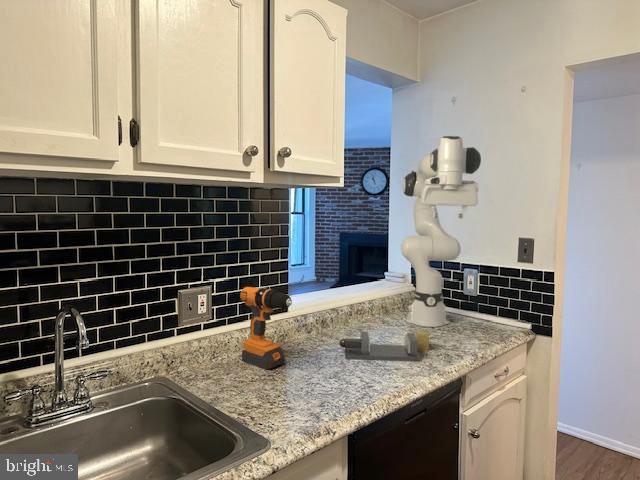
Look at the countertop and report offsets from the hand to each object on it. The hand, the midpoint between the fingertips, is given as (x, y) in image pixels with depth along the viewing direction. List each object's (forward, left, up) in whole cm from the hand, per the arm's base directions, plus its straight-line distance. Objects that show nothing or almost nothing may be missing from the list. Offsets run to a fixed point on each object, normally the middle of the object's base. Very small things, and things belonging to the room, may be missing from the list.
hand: (448, 218), depth 163 cm
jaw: (+13, -34, -46) cm, 59 cm away
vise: (+13, -24, -48) cm, 55 cm away
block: (+5, -9, -48) cm, 49 cm away
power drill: (+27, -62, -48) cm, 83 cm away
